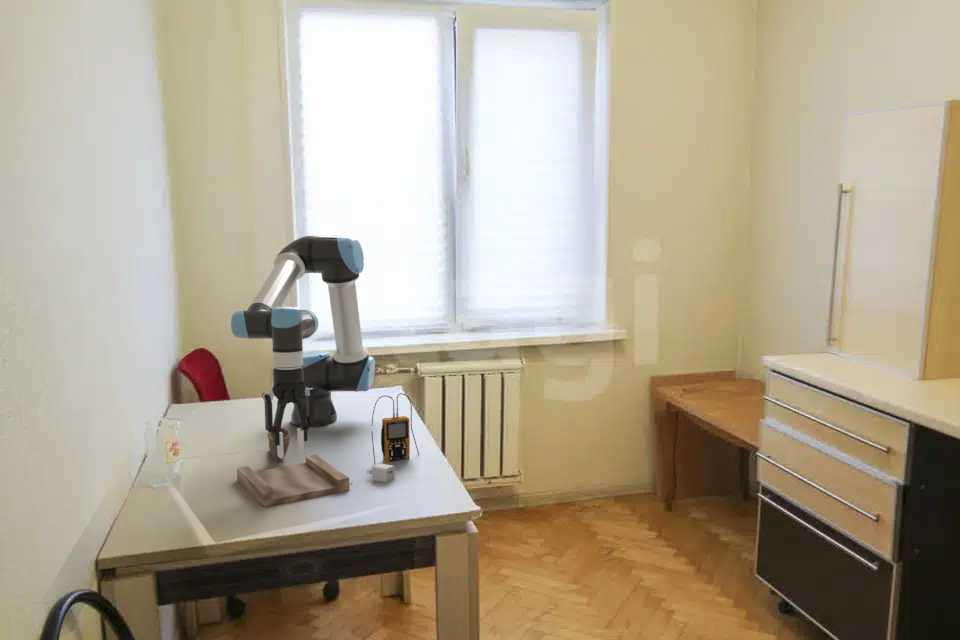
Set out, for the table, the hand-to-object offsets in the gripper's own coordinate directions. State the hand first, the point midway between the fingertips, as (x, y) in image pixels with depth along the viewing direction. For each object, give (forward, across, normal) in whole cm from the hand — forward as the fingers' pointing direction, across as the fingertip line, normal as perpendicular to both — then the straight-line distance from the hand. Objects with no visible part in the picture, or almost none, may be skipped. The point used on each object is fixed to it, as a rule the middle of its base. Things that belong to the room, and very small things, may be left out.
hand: (290, 455), depth 199 cm
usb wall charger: (+8, -21, +8) cm, 24 cm away
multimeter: (+8, -31, +1) cm, 32 cm away
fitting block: (+8, 0, 0) cm, 8 cm away
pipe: (+8, -5, -26) cm, 27 cm away
